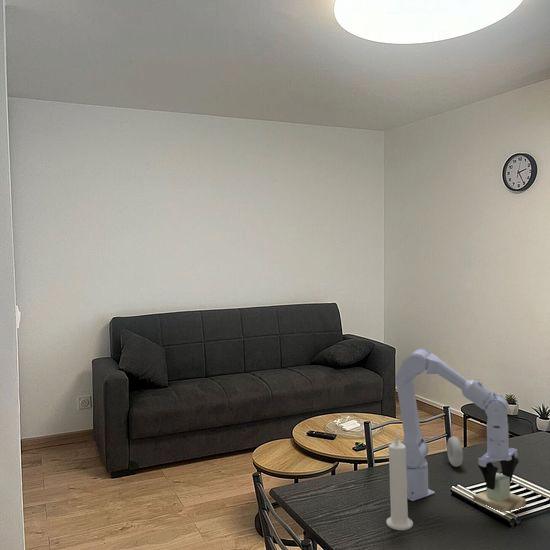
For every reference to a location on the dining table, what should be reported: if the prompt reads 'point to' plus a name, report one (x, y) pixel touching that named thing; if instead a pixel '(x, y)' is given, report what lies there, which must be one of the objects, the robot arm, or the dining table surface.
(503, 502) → the maple slab
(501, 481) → the sage block
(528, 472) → the dining table surface
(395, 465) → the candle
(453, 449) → the grey flat oval piece
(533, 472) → the dining table surface
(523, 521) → the dining table surface
